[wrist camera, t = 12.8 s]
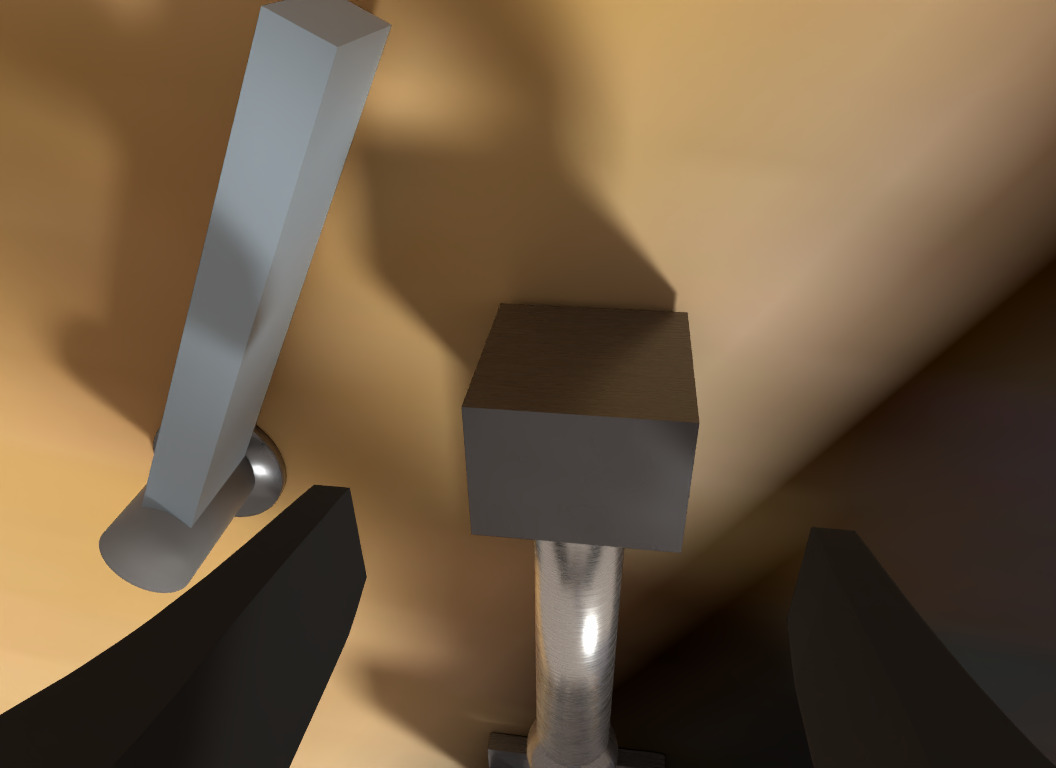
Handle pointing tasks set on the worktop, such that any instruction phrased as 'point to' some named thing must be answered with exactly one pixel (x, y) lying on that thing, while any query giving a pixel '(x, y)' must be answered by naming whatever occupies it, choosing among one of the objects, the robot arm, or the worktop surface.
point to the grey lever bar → (248, 279)
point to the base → (260, 473)
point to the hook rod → (580, 487)
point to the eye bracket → (513, 764)
